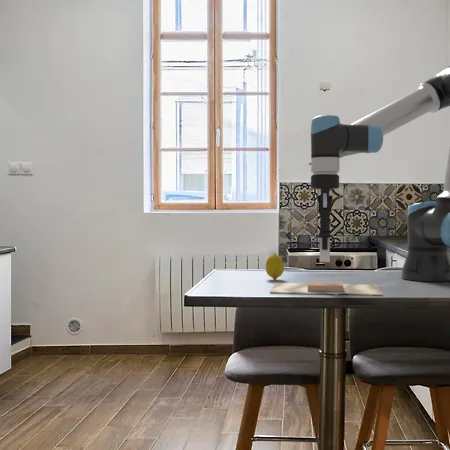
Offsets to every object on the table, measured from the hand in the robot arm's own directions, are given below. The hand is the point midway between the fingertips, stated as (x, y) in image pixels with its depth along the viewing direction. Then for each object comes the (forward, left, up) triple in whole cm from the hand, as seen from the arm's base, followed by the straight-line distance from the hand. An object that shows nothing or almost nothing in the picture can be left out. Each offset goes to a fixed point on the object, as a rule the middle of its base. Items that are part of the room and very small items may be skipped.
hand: (324, 261), depth 158 cm
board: (0, +2, -7) cm, 8 cm away
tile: (0, 0, -6) cm, 6 cm away
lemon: (+15, -18, -8) cm, 25 cm away
